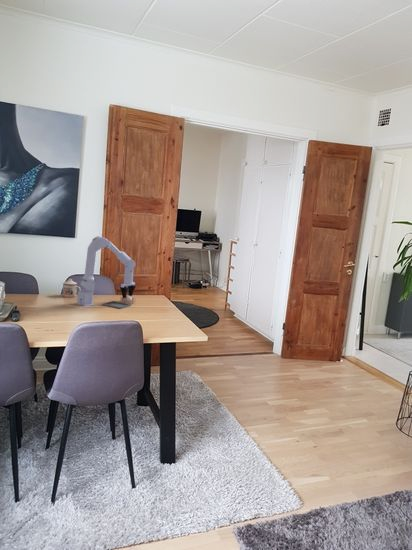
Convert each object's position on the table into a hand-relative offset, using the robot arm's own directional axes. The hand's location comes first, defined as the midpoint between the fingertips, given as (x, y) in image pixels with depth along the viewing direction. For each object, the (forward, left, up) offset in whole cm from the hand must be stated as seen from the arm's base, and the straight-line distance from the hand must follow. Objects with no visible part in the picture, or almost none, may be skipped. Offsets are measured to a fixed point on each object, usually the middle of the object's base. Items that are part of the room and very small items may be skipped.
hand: (127, 296), depth 284 cm
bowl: (-1, -2, -4) cm, 4 cm away
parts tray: (-14, -2, -4) cm, 15 cm away
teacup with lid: (-12, +36, -4) cm, 39 cm away
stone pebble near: (0, 0, -3) cm, 3 cm away
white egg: (-2, -3, -3) cm, 5 cm away
